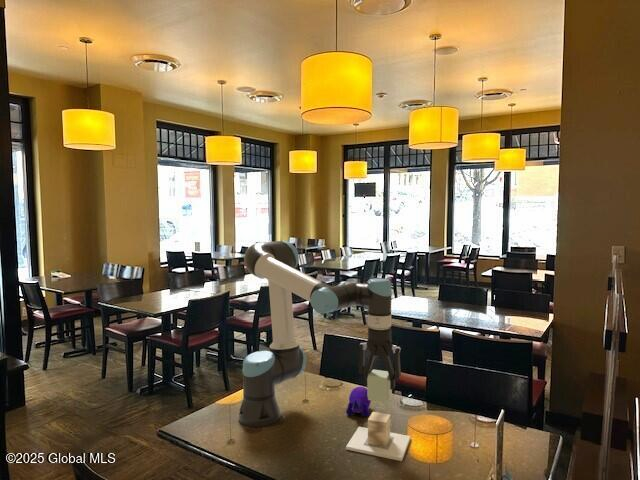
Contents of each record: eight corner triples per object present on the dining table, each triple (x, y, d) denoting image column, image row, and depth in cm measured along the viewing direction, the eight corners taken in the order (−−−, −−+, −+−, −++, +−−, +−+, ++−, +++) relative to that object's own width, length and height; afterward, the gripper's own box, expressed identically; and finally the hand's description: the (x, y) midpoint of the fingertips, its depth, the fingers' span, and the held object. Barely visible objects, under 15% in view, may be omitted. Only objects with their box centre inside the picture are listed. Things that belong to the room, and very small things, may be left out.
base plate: (346, 449, 142) (346, 445, 141) (358, 429, 154) (358, 425, 154) (401, 461, 135) (401, 457, 135) (410, 439, 148) (410, 435, 148)
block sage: (368, 399, 142) (368, 375, 141) (373, 392, 147) (373, 369, 147) (386, 402, 139) (386, 378, 139) (390, 395, 145) (390, 371, 144)
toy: (367, 425, 159) (373, 403, 174) (367, 401, 158) (372, 380, 172) (344, 423, 161) (351, 401, 176) (343, 398, 160) (350, 378, 174)
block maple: (367, 443, 143) (367, 419, 142) (372, 434, 148) (372, 411, 148) (385, 447, 140) (386, 422, 140) (390, 438, 146) (390, 414, 145)
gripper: (347, 327, 142) (348, 397, 143) (406, 332, 135) (406, 406, 136) (354, 321, 149) (355, 388, 150) (411, 326, 142) (411, 396, 143)
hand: (379, 396), depth 143 cm, fingers closed on block sage, 6 cm apart
